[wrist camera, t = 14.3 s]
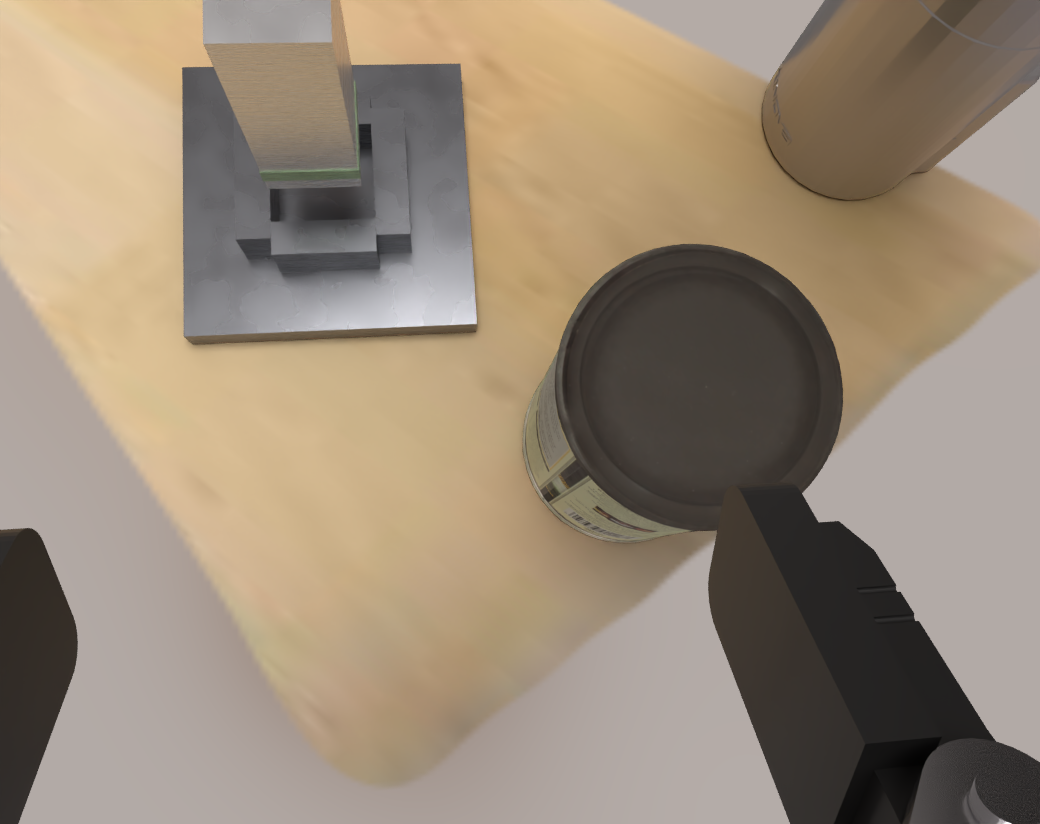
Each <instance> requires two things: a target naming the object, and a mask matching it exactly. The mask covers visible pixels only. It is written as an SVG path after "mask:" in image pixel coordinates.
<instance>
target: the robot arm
mask: <svg viewBox="0 0 1040 824" xmlns="http://www.w3.org/2000/svg"><path fill="white" fill-rule="evenodd" d="M1039 77H1040V0H825V1H824V2H823V4H822V5H821V7H820V8H819V10H818V11H817V12H816V14H815V15H814V17H813V18H812V20H811V21H810V23H809V24H808V26H807V27H806V29H805V30H804V32H803V33H802V34H801V36H800V38H799V39H798V40H797V42H796V43H795V45H794V46H793V48H792V49H791V51H790V52H789V54H788V55H787V57H786V58H785V60H784V61H783V62H782V64H781V66H780V67H779V68H778V70H777V71H776V73H775V75H774V76H773V77H772V79H771V81H770V83H769V86H768V88H767V90H766V92H765V97H764V102H763V106H762V115H763V127H764V131H765V135H766V140H767V142H768V144H769V146H770V148H771V150H772V152H773V154H774V156H775V157H776V159H777V160H778V161H779V163H780V164H781V166H782V167H783V168H784V169H785V170H786V171H787V172H788V173H789V174H790V175H791V176H792V177H793V178H794V179H795V180H797V181H798V182H799V183H801V184H803V185H804V186H806V187H807V188H809V189H811V190H812V191H815V192H817V193H820V194H823V195H825V196H828V197H832V198H839V199H845V200H854V199H866V198H870V197H874V196H877V195H880V194H882V193H884V192H886V191H888V190H890V189H892V188H894V187H895V186H896V185H897V184H899V183H900V182H901V181H902V180H903V179H905V178H906V177H907V176H908V175H909V174H911V173H916V172H927V171H928V170H930V169H931V168H932V167H933V166H935V165H936V164H937V163H938V162H939V161H941V160H942V159H943V158H944V157H946V155H948V154H949V153H950V152H952V151H953V150H954V149H955V148H957V147H958V146H959V145H960V144H961V143H963V142H964V141H965V140H966V139H967V138H969V137H970V136H971V135H972V134H973V133H975V132H976V131H977V130H979V129H980V128H981V127H982V126H984V125H985V124H986V123H987V122H988V121H990V120H991V119H992V118H993V117H995V116H996V115H997V114H998V113H999V112H1001V111H1002V110H1003V109H1004V108H1005V107H1007V106H1008V105H1009V104H1010V103H1012V102H1013V101H1014V100H1015V99H1017V98H1018V97H1019V96H1020V95H1021V94H1023V93H1024V92H1025V91H1026V90H1027V89H1029V88H1030V87H1031V86H1032V85H1033V84H1035V83H1036V82H1037V80H1038V79H1039ZM708 586H709V587H708V591H709V603H710V608H711V614H712V618H713V622H714V625H715V628H716V630H717V633H718V636H719V638H720V641H721V644H722V646H723V649H724V652H725V654H726V657H727V659H728V662H729V665H730V667H731V670H732V672H733V675H734V678H735V680H736V683H737V686H738V688H739V690H740V693H741V696H742V699H743V701H744V704H745V707H746V709H747V712H748V714H749V717H750V720H751V722H752V725H753V727H754V730H755V732H756V735H757V738H758V740H759V743H760V746H761V748H762V751H763V754H764V756H765V759H766V762H767V764H768V766H769V769H770V772H771V775H772V777H773V780H774V782H775V785H776V788H777V790H778V793H779V796H780V798H781V800H782V803H783V806H784V809H785V811H786V814H787V817H788V819H789V822H790V824H1040V762H1038V761H1036V760H1035V759H1033V758H1032V757H1030V756H1028V755H1027V754H1025V753H1023V752H1021V751H1019V750H1017V749H1015V748H1013V747H1010V746H1007V745H1004V744H1002V743H999V742H996V741H995V739H994V738H993V737H992V735H991V734H990V733H989V731H988V730H987V729H986V727H985V725H984V724H983V722H982V720H981V719H980V717H979V716H978V714H977V712H976V711H975V709H974V708H973V706H972V704H971V703H970V701H969V700H968V698H967V697H966V695H965V693H964V692H963V691H962V689H961V687H960V685H959V684H958V683H957V681H956V679H955V678H954V676H953V674H952V673H951V671H950V670H949V668H948V667H947V665H946V663H945V662H944V660H943V659H942V657H941V655H940V654H939V652H938V651H937V649H936V647H935V646H934V645H933V643H932V641H931V640H930V638H929V636H928V635H927V633H926V632H925V630H924V628H923V627H922V625H921V624H920V622H919V621H915V619H914V613H913V611H912V609H911V608H910V606H909V605H908V603H907V602H906V600H905V598H904V597H903V595H902V594H901V592H897V591H896V584H895V583H894V581H893V579H892V578H891V576H890V575H889V573H888V571H887V570H886V568H885V567H884V565H883V564H882V562H881V560H880V559H879V557H878V556H877V554H876V552H875V551H874V550H873V549H872V548H871V547H870V546H868V545H867V544H866V543H865V542H864V541H862V540H861V539H860V538H859V537H857V536H856V535H855V534H854V533H852V532H851V531H850V530H849V529H847V528H846V527H845V526H844V525H843V524H841V523H840V522H839V521H835V522H820V523H819V522H818V521H817V519H816V517H815V516H814V514H813V512H812V511H811V509H810V507H809V505H808V503H807V502H806V500H805V498H804V497H803V495H802V493H801V491H800V490H799V488H798V487H797V486H796V485H795V484H793V483H792V482H780V483H764V484H748V485H733V486H730V487H729V488H728V489H727V491H726V493H725V495H724V499H723V504H722V509H721V515H720V520H719V525H718V530H717V535H716V541H715V546H714V551H713V556H712V562H711V567H710V573H709V583H708ZM77 644H78V641H77V630H76V624H75V621H74V617H73V615H72V613H71V610H70V607H69V605H68V602H67V600H66V597H65V595H64V592H63V590H62V587H61V585H60V582H59V580H58V577H57V575H56V572H55V570H54V568H53V565H52V563H51V560H50V558H49V555H48V553H47V550H46V548H45V545H44V543H43V541H42V539H41V537H40V535H39V534H38V533H37V532H36V531H35V530H33V529H30V528H25V529H8V530H0V824H18V823H19V820H20V817H21V815H22V812H23V809H24V807H25V804H26V801H27V798H28V796H29V793H30V790H31V787H32V785H33V782H34V779H35V777H36V774H37V771H38V769H39V765H40V763H41V760H42V757H43V755H44V752H45V750H46V747H47V744H48V741H49V739H50V736H51V733H52V731H53V728H54V725H55V722H56V720H57V717H58V714H59V712H60V709H61V706H62V703H63V701H64V698H65V695H66V692H67V690H68V687H69V684H70V682H71V679H72V676H73V673H74V669H75V665H76V658H77Z"/></svg>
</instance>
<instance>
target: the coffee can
mask: <svg viewBox="0 0 1040 824" xmlns="http://www.w3.org/2000/svg"><path fill="white" fill-rule="evenodd" d="M842 407H843V388H842V378H841V371H840V364H839V361H838V358H837V354H836V350H835V346H834V344H833V341H832V339H831V337H830V334H829V332H828V330H827V328H826V326H825V324H824V322H823V321H822V319H821V317H820V316H819V314H818V313H817V311H816V310H815V308H814V307H813V305H812V304H811V303H810V302H809V301H808V299H807V298H806V297H805V296H804V295H803V294H802V293H801V292H800V291H799V289H798V288H797V287H796V286H795V285H794V284H793V283H792V282H791V281H789V280H788V279H787V278H786V277H784V276H783V275H781V274H780V273H779V272H777V271H776V270H774V269H773V268H771V267H770V266H768V265H766V264H764V263H763V262H761V261H759V260H757V259H755V258H753V257H750V256H748V255H746V254H743V253H740V252H738V251H734V250H731V249H727V248H723V247H718V246H712V245H700V244H680V245H672V246H667V247H661V248H656V249H653V250H650V251H647V252H644V253H641V254H639V255H636V256H634V257H632V258H630V259H628V260H626V261H624V262H622V263H621V264H619V265H618V266H616V267H615V268H613V269H612V270H611V271H609V272H608V273H606V274H605V275H604V276H603V277H601V278H600V279H599V280H598V281H597V282H596V283H595V284H594V285H593V286H592V287H591V288H590V290H589V291H588V292H587V293H586V295H585V296H584V297H583V298H582V300H581V301H580V302H579V304H578V305H577V307H576V309H575V311H574V313H573V314H572V316H571V318H570V320H569V322H568V324H567V326H566V328H565V331H564V334H563V336H562V339H561V343H560V347H559V350H558V352H557V354H556V356H555V358H554V360H553V362H552V364H551V365H550V367H549V369H548V371H547V373H546V375H545V377H544V379H543V381H542V382H541V383H540V385H539V386H538V388H537V390H536V391H535V393H534V395H533V397H532V399H531V401H530V404H529V407H528V410H527V412H526V416H525V421H524V428H523V455H524V459H525V463H526V468H527V471H528V474H529V477H530V479H531V482H532V484H533V486H534V488H535V490H536V491H537V493H538V495H539V496H540V498H541V499H542V501H543V502H544V503H545V504H546V506H547V507H548V508H549V509H550V510H551V511H552V512H553V513H554V514H555V515H556V516H557V517H558V518H559V519H560V520H561V521H563V522H564V523H566V524H567V525H569V526H570V527H572V528H574V529H575V530H577V531H579V532H581V533H583V534H585V535H588V536H591V537H594V538H597V539H600V540H605V541H610V542H617V543H636V542H642V541H647V540H651V539H654V538H657V537H662V536H667V535H672V534H678V533H684V532H692V531H715V530H718V525H719V520H720V515H721V509H722V504H723V499H724V495H725V493H726V491H727V489H728V488H729V487H730V486H733V485H748V484H764V483H780V482H792V483H793V484H795V485H796V486H797V487H798V488H799V490H800V491H801V493H803V491H804V490H805V489H806V488H807V487H808V486H809V485H810V484H811V483H812V481H813V480H814V479H815V477H816V476H817V475H818V473H819V472H820V470H821V469H822V467H823V466H824V464H825V462H826V461H827V458H828V456H829V454H830V453H831V450H832V448H833V445H834V443H835V440H836V437H837V435H838V431H839V426H840V422H841V416H842Z"/></svg>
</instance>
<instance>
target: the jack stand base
mask: <svg viewBox="0 0 1040 824" xmlns="http://www.w3.org/2000/svg"><path fill="white" fill-rule="evenodd" d="M351 66H352V72H353V78H354V81H355V82H356V88H357V101H358V119H359V143H360V167H361V187H330V188H294V189H268V187H267V185H266V183H265V181H263V180H262V178H261V176H260V173H259V167H258V165H257V163H256V161H255V158H254V156H253V154H252V152H251V149H250V147H249V145H248V143H247V140H246V138H245V136H244V134H243V131H242V129H241V127H240V125H239V123H238V120H237V118H236V116H235V114H234V111H233V109H232V107H231V105H230V102H229V100H228V98H227V96H226V93H225V91H224V89H223V87H222V85H221V82H220V80H219V78H218V76H217V73H216V71H215V69H214V67H185V68H182V76H183V264H184V337H185V338H186V339H187V340H188V341H189V342H190V343H192V344H213V343H236V342H258V341H281V340H303V339H326V338H348V337H371V336H394V335H416V334H439V333H461V332H476V327H477V316H476V301H475V285H474V269H473V254H472V238H471V223H470V207H469V191H468V176H467V160H466V144H465V129H464V113H463V98H462V82H461V66H460V64H406V65H351Z"/></svg>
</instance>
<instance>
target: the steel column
mask: <svg viewBox="0 0 1040 824" xmlns="http://www.w3.org/2000/svg"><path fill="white" fill-rule="evenodd" d="M203 44H204V47H205V49H206V51H207V53H208V55H209V58H210V60H211V62H212V64H213V67H214V69H215V71H216V73H217V76H218V78H219V80H220V82H221V85H222V87H223V89H224V91H225V93H226V96H227V98H228V100H229V102H230V105H231V107H232V109H233V111H234V114H235V116H236V118H237V120H238V123H239V125H240V127H241V129H242V131H243V134H244V136H245V138H246V140H247V143H248V145H249V147H250V149H251V152H252V154H253V156H254V158H255V161H256V163H257V165H258V167H259V173H260V176H261V178H262V180H263V181H265V183H266V185H267V187H268V189H294V188H330V187H361V167H360V143H359V119H358V101H357V88H356V82H355V81H354V78H353V72H352V66H351V61H350V55H349V49H348V43H347V37H346V32H345V26H344V20H343V14H342V9H341V3H340V0H203Z"/></svg>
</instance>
